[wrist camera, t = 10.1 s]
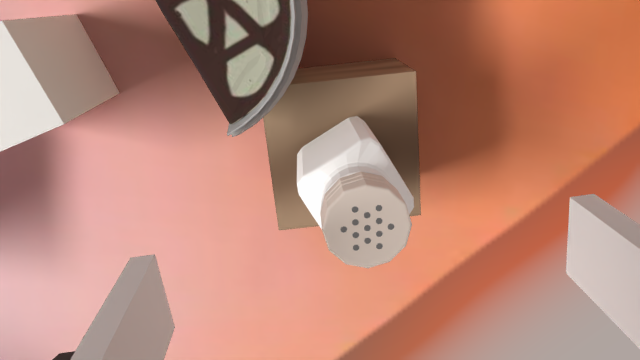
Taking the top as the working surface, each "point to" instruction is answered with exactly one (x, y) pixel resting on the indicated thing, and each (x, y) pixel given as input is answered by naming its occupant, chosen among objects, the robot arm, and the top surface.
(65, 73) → the white block
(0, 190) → the top surface
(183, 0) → the food container
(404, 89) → the walnut block
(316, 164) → the pepper shaker
